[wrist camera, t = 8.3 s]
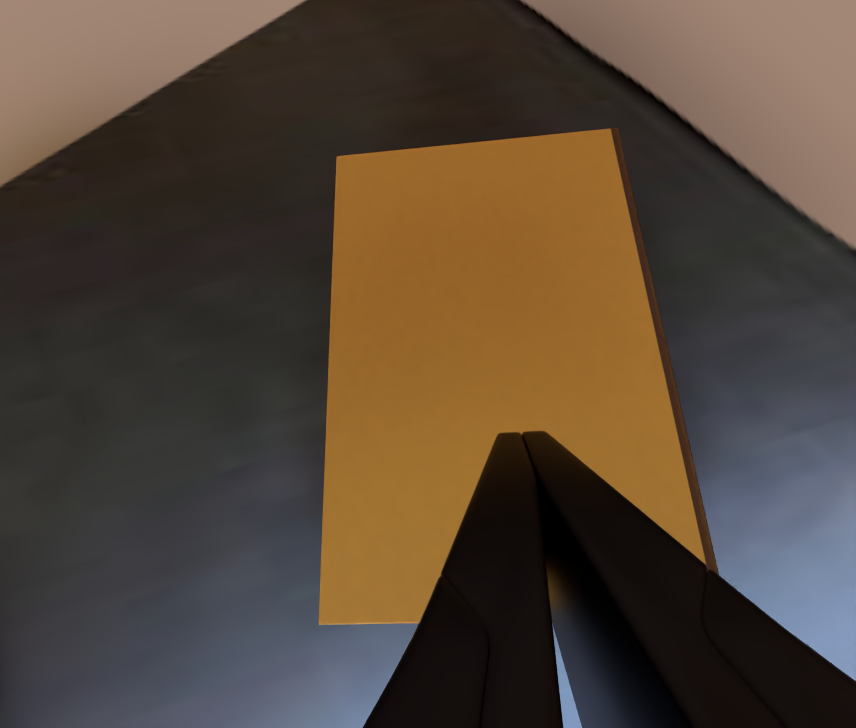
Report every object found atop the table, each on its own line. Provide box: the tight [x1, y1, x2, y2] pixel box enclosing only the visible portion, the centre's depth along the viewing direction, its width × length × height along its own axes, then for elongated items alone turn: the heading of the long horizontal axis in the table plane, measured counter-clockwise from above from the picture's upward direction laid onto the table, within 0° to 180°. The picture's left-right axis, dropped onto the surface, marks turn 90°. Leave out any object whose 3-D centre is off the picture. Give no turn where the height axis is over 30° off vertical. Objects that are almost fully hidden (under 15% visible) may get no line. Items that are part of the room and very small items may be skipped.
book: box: [319, 128, 719, 625], centre depth 14 cm, size 3×10×15 cm
